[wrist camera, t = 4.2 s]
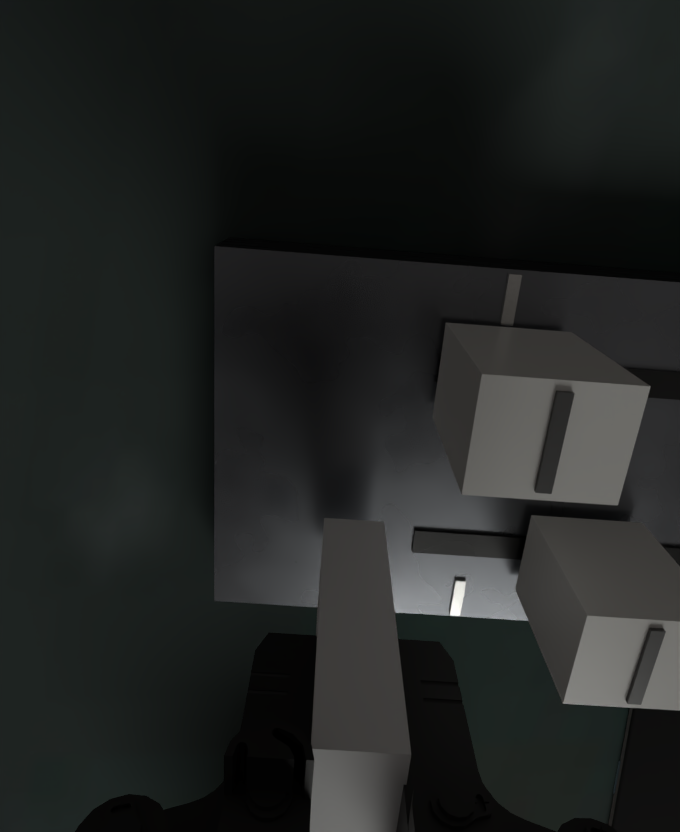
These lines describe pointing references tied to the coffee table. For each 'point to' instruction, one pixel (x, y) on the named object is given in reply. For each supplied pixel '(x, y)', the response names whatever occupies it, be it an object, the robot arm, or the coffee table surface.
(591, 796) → the coffee table surface
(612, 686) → the fader
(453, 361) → the block
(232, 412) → the console
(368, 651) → the robot arm
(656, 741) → the smartphone
